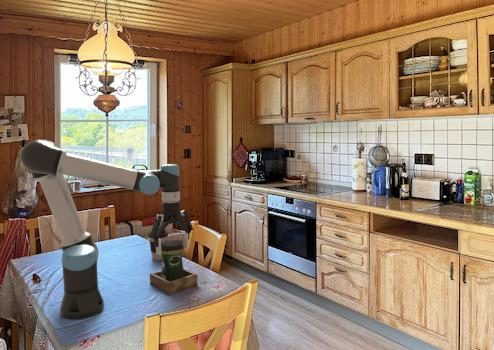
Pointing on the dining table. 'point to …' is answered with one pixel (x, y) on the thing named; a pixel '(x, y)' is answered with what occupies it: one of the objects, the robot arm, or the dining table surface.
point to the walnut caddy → (173, 282)
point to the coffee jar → (172, 260)
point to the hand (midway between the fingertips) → (172, 250)
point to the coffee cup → (153, 248)
